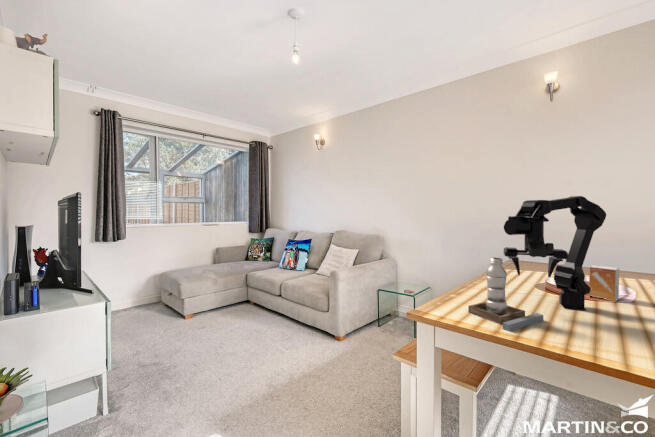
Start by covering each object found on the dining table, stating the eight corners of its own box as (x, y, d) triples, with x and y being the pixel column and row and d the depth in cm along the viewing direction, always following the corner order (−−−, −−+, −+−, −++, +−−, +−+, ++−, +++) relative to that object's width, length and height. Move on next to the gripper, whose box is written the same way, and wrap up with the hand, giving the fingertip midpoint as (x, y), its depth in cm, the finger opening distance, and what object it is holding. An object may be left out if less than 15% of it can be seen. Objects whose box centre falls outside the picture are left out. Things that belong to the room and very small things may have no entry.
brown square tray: (491, 306, 111) (491, 300, 111) (525, 317, 100) (525, 310, 100) (468, 312, 106) (468, 305, 106) (501, 324, 94) (501, 317, 94)
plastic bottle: (506, 318, 98) (506, 260, 98) (484, 314, 102) (484, 258, 102) (508, 312, 103) (508, 257, 103) (487, 309, 107) (487, 256, 107)
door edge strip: (536, 318, 99) (536, 313, 99) (543, 320, 97) (543, 314, 97) (502, 328, 91) (502, 322, 91) (509, 331, 89) (509, 324, 89)
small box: (588, 297, 120) (588, 266, 120) (592, 294, 124) (593, 264, 123) (615, 302, 114) (616, 269, 113) (619, 299, 117) (619, 267, 117)
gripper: (507, 235, 102) (507, 278, 103) (573, 236, 94) (573, 283, 94) (503, 233, 112) (503, 272, 113) (563, 233, 104) (562, 276, 104)
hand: (533, 276), depth 106 cm, fingers open, 9 cm apart
